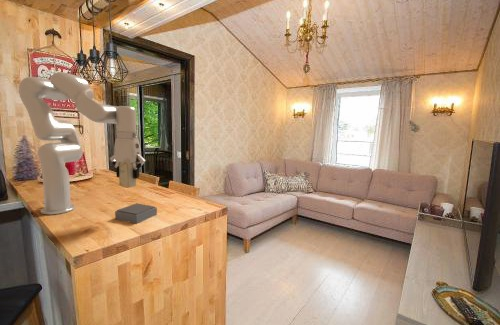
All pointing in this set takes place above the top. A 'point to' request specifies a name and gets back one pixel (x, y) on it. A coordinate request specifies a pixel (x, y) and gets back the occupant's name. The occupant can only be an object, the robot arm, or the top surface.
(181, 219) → the top surface
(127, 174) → the skincare box
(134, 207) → the stand
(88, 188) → the top surface
